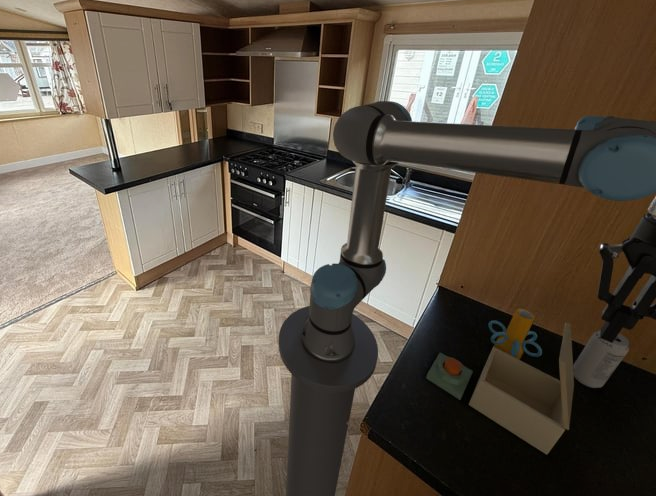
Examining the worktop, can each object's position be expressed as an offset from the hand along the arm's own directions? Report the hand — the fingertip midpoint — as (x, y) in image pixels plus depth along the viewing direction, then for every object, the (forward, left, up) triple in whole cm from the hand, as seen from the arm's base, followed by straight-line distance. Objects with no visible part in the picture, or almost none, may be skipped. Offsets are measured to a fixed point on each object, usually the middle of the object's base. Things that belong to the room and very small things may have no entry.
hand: (606, 336), depth 56 cm
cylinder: (-10, +16, -29) cm, 34 cm away
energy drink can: (+6, +22, -29) cm, 36 cm away
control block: (-19, -2, -28) cm, 34 cm away
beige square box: (-6, 0, -28) cm, 29 cm away
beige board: (-2, 0, -12) cm, 12 cm away
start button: (-19, -2, -25) cm, 32 cm away
